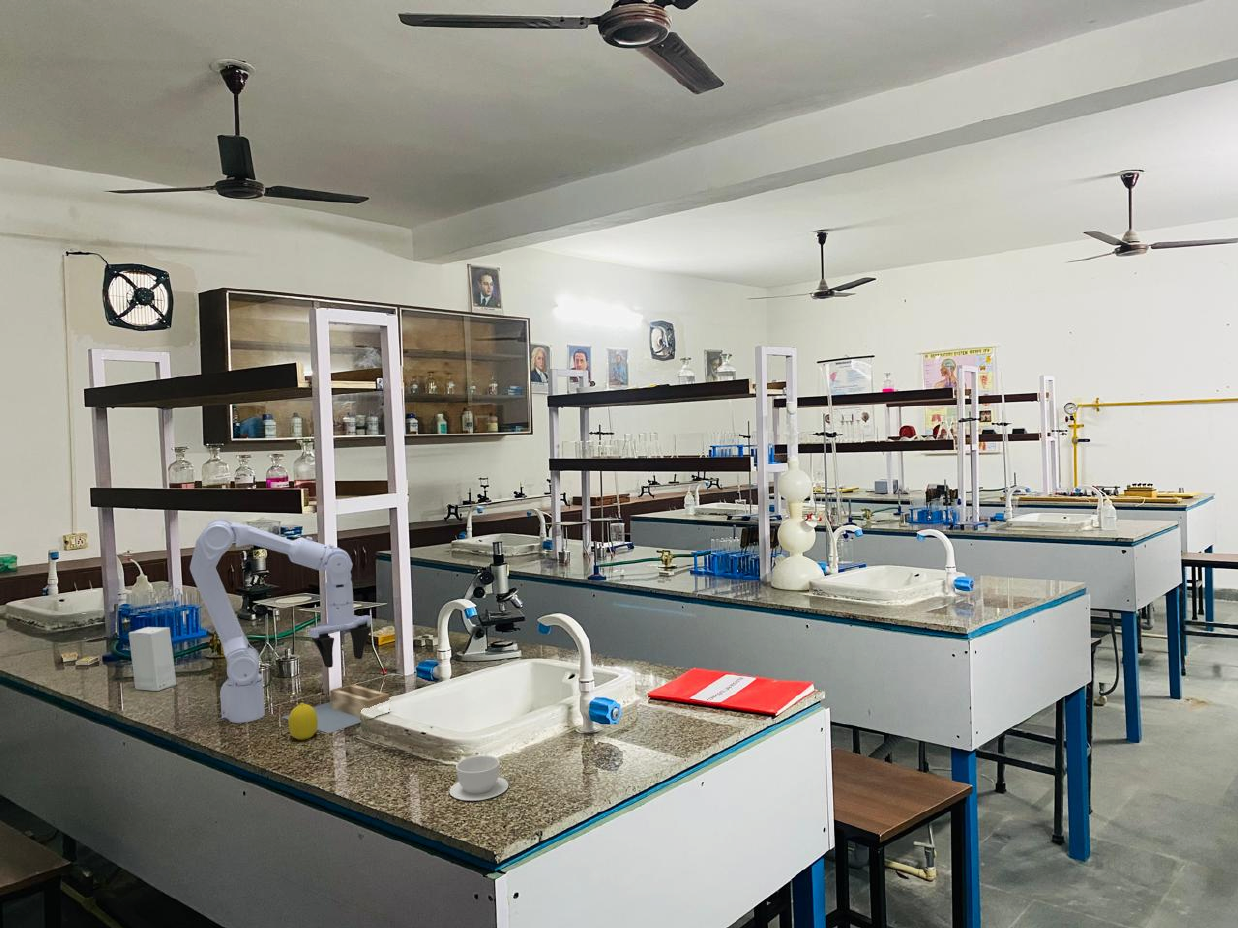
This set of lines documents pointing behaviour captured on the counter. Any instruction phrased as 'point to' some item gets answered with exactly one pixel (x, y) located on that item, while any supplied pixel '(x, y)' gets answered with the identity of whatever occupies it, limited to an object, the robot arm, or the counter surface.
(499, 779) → the teacup
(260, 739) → the counter surface
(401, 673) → the counter surface
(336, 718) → the board
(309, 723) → the lemon
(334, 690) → the open wooden crate
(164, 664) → the skincare box
